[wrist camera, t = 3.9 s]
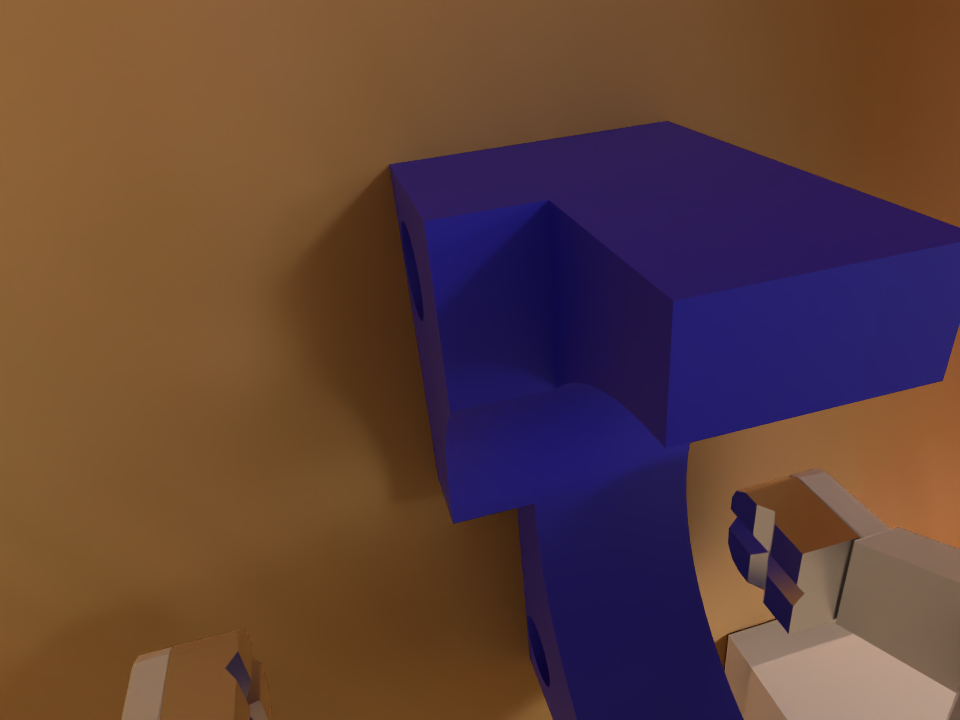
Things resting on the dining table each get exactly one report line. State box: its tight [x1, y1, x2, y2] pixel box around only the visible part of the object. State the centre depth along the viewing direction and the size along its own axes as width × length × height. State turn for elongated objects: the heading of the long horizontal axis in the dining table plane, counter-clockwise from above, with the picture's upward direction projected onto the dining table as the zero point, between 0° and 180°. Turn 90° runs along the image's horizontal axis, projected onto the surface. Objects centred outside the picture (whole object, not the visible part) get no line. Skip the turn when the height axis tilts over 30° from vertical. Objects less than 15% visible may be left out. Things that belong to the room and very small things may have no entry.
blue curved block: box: [389, 121, 960, 720], centre depth 11 cm, size 12×4×6 cm, turn 4°
